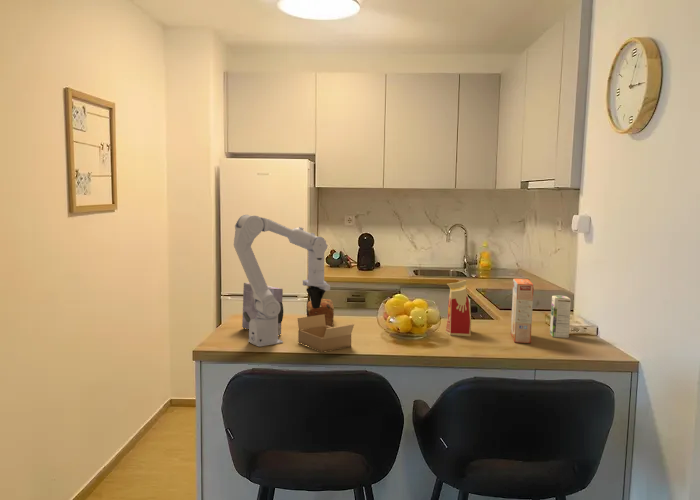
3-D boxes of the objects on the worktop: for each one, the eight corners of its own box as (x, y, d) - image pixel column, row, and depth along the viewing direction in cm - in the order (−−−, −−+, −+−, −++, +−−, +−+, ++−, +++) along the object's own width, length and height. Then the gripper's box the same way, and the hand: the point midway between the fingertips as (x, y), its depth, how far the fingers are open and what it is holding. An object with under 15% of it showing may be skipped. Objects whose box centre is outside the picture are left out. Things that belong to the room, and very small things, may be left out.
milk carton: (468, 330, 209) (470, 278, 207) (471, 336, 199) (473, 281, 198) (444, 329, 209) (445, 277, 208) (446, 335, 200) (447, 281, 198)
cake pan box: (284, 335, 197) (284, 287, 196) (273, 338, 194) (273, 288, 192) (252, 327, 211) (252, 281, 209) (241, 329, 207) (241, 282, 205)
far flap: (325, 325, 194) (325, 325, 194) (324, 314, 194) (323, 314, 195) (299, 329, 187) (298, 329, 188) (298, 318, 188) (297, 318, 188)
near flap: (323, 338, 176) (324, 339, 176) (326, 328, 175) (327, 329, 174) (350, 333, 183) (351, 334, 183) (353, 323, 181) (354, 324, 181)
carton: (321, 352, 176) (321, 338, 176) (298, 343, 187) (298, 330, 187) (351, 346, 184) (351, 333, 183) (326, 338, 195) (327, 325, 194)
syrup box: (549, 333, 205) (550, 295, 203) (565, 334, 204) (567, 295, 202) (552, 337, 199) (554, 297, 198) (569, 338, 198) (571, 298, 197)
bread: (333, 330, 207) (334, 304, 206) (305, 330, 207) (305, 304, 206) (333, 319, 226) (333, 295, 225) (307, 319, 225) (307, 295, 224)
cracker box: (531, 344, 189) (534, 284, 188) (513, 343, 191) (516, 283, 189) (527, 334, 203) (529, 278, 201) (510, 333, 204) (512, 277, 202)
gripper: (337, 271, 191) (337, 309, 193) (314, 267, 203) (313, 303, 204) (320, 272, 187) (320, 312, 188) (297, 268, 198) (297, 305, 200)
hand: (316, 307), depth 196 cm, fingers closed
